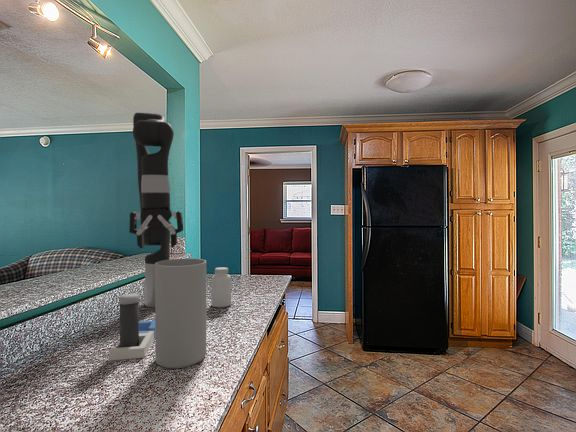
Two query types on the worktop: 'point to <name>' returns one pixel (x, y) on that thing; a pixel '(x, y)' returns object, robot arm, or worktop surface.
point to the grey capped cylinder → (129, 320)
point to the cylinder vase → (180, 312)
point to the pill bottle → (221, 288)
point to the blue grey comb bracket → (137, 351)
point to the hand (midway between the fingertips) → (157, 247)
